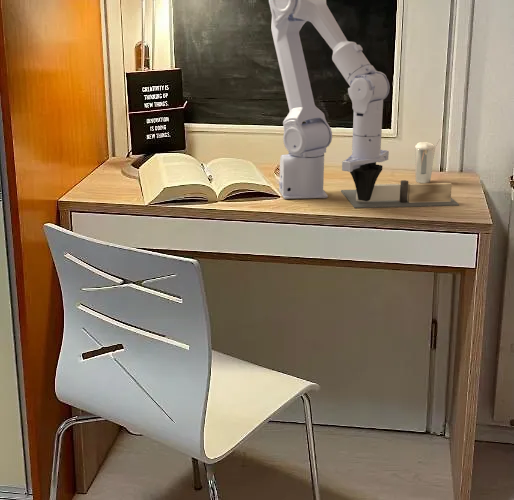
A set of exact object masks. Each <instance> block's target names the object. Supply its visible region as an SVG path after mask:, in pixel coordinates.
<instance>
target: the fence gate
mask: <svg viewBox="0 0 514 500" xmlns="http://www.w3.org/2000/svg"><path fill="white" fill-rule="evenodd" d="M400 184H401V183H383V184H382V183H381V184H380V183H379V184H378V183H375V185H374V188H373V192H372V195H371V198H370V200H369V201H389V200H400ZM356 200H357V201H362V200H358V196H357V191H356Z"/></svg>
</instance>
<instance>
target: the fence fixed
mask: <svg viewBox="0 0 514 500" xmlns="http://www.w3.org/2000/svg"><path fill="white" fill-rule="evenodd" d="M399 184H400V202H402V203H406V202H407V201H408V202H434V201H451V198H452V191H453V190H452V187H453V183H452V182H429V183H419V182H416V183H409V180H405V179H403V180H400V183H399Z"/></svg>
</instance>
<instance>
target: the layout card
mask: <svg viewBox="0 0 514 500" xmlns="http://www.w3.org/2000/svg"><path fill="white" fill-rule="evenodd" d="M340 192H341V193H342V195H343V196H344V197H345V199H346V200H347V201H348V202H349V203H350V204H351V205H352V207H353V208H354V209H370V208H371V209H372V208H373V209H374V208H376V209H377V208H379V209H381V208H409V207H410V208H414V207H417V208H418V207H453V206H455V207H457V206H460V204H459V203H458V202H457V201H456V200H455V199H453V198H452V197H451V201H434V202H408V201H407V202H406V203H402V202H400V200H389V201H357V200H356V189H340Z"/></svg>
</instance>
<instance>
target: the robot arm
mask: <svg viewBox="0 0 514 500" xmlns="http://www.w3.org/2000/svg"><path fill="white" fill-rule="evenodd" d="M268 4H269V9H270V12H271V13H270V14H271V29H270V31H271V34H272V38H273V39H272V40H273V44H274V48H275V52H276V57H277V61H278V66H279V70H280V74H281V79H282V85H283V89H284V92H285V97H286V100H287V101H286V102H287V105H288V110H289V112H288V113H287V116H285V117H284V120H283V121H282V125H283V136H282V138H283V139H282V140H283V141H282V142H283V144H284V147H285V149H286V151H288V154H281V155H280V158H279V183H278V185H279V187H278V191H279V193H280V194H281V197H283V199H286V200H287V199H289V200H291V199H292V200H293V199H294V200H295V199H296V200H298V199H327V198H328V197H329V195H328V194H327V192H326V191H325V190H324V184H325V183H324V178H325V154H326V153H327V148H328V147H330V145H331V143H332V140H333V131H332V128H331V127H330V125H329V123H328V121H327V120H326V119H327V118H326V115H325V112H323V111H322V110H320V109H319V108H318V107H317V106H316V104H315V100H314V95H313V91H312V87H311V81H310V78H309V73H308V69H307V63H306V60H305V54H304V51H303V46H302V41H301V37H300V31H301V29H302V27H303V26H304V25H305V23H307V22H309V23H311V24H312V25H313V27H314V29H316V31H317V32H318V33H319V35H320V36H321V37H322V38H323V39H324V41H325V43H326V44H327V45H328V46H329V48H330V49H331V50H332V55H331V60H332V62H333V63H334V65H335V67H336V68H337V70H338V71H339V72H340V74H341V75H342V77H343V78H344V80H345V82H346V83H347V84H348V85H349V87H348V88H347V93H348V97H349V98H350V100H351V103H352V106H351V107H352V110H353V118H352V119H353V122H352V123H353V125H352V144H351V145H352V146H351V155H350V156H348V157H347V158H345V160H342V162H341V171H343V172H349V173H350V175H351V178H352V179H353V182H354V186H355V190H356V191H357V196H358V200H362V201H369V200H370V198H371V195H372V192H373V188H374V185H375V184H376V182H377V180H378V177H379V176H380V175H381V172H382V171H383V167H384V166H383V165H381V164H377V163H384V162H385V161H388V160H389V154H390V153H389V151H390V150H386V149H382V148H381V147H382V131H383V130H382V129H383V111H384V110H383V109H384V100H385V99H387V97H388V95H389V93H390V87H391V86H390V82H389V79H388V78H387V75H386V74H385V73H384V72H382V71H378V70H377V69H376V68H375V67H374V65H372V64H371V63H370V61H369V60H368V58H367V57H366V55H365V54H364V53H363V51H364V50H363V47H362V45H361V44H357V42H355V41H349V40H348V39H347V37H346V36H345V34H344V33H343V31H342V29H341V27H340V25H339V23H338V22H337V21H336V18H335V17H334V15H333V13H332V12H331V10H330V9H329V6H328V5H327V4H328V3H327V0H268ZM303 122H304V123H303Z"/></svg>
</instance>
